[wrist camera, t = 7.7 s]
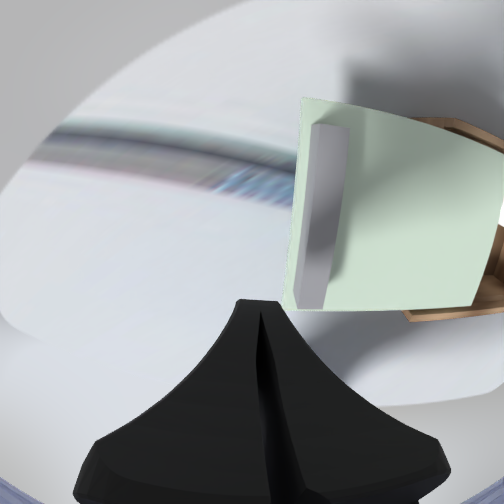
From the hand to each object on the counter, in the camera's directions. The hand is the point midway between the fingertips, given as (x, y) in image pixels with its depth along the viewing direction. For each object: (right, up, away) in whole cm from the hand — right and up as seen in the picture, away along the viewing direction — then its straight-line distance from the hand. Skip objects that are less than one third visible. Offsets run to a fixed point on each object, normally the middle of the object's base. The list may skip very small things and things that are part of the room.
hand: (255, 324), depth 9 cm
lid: (+9, +4, +4) cm, 10 cm away
